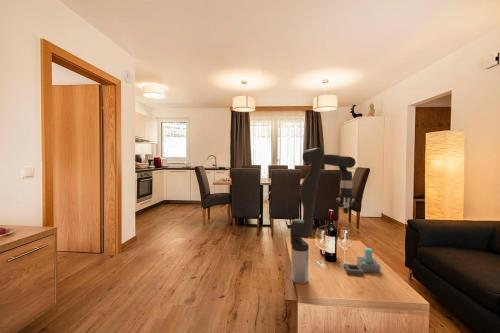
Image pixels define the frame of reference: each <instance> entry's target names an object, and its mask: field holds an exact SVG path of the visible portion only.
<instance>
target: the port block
mask: <svg viewBox="0 0 500 333" xmlns="http://www.w3.org/2000/svg"><path fill="white" fill-rule="evenodd" d="M356 265H360V267H361V268H362V270H363V271H364V273H370V274H381V265H380V263H378V262H377V260H376V259H375V258H374V257H372V263H366V262H364V256H357V257H356Z"/></svg>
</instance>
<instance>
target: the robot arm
mask: <svg viewBox="0 0 500 333" xmlns="http://www.w3.org/2000/svg"><path fill="white" fill-rule="evenodd" d="M302 160H303V162H304V163H305V164H306V165H310V169H309V171H308V173H307V175H306V176H305V177H304V178H303V180H302V182H301V185H300V190H299V200H300V202H301V205H302V207H303V210H304V211H303V212H304V219H300V218H295V219H292V221H291V222H290V226H289V228H290V230H289V232H290V244H291V262H290V264H291V265H290V272H291V273H290V280H291V281H292V282H293V283H294V284H295V283H296V284H304V285H305V284H306V283H308V282H309V244H308V242H306V241H305V240H304V239H309V238H310V237H311V235H312V231H313V225H314V213H315V212H314V210H315V203H316V200H317V193H318V185H319V179H320V175H321V174H320V173H321V171H322V167H323V165H327V166H333V167H338V168H339V172H340V181H339V182H340V184H339V187H340V188H339V190H340V191H339V196H338V197H337V198H336V199H335V200H336V202H337V203H338V205H339V206H340V207H342V208H343V209H342V210H343V211H342V212H343V213H344V214H349V209H350V208H352V207H353V206H354V204H355V203H356V202H357V199H355V198H354V196H353V186H354V185H353V184H354V183H353V172H351V171H350V170H348V169H350V168H353V167H355V165H356V159H355V158H354V157H353V156H346V155H345V156H344V155H339V154H332V153H328V154H327V153H324V151H323V149H322V148H320V147H316V148H309V149H306V150H305V151H303V153H302Z"/></svg>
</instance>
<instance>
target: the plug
mask: <svg viewBox="0 0 500 333" xmlns="http://www.w3.org/2000/svg"><path fill="white" fill-rule="evenodd" d="M363 253H364V254H363V257H364V262H366V263H372V258H373V249H372V248H371V247H369V248H368V247H364V249H363Z"/></svg>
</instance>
